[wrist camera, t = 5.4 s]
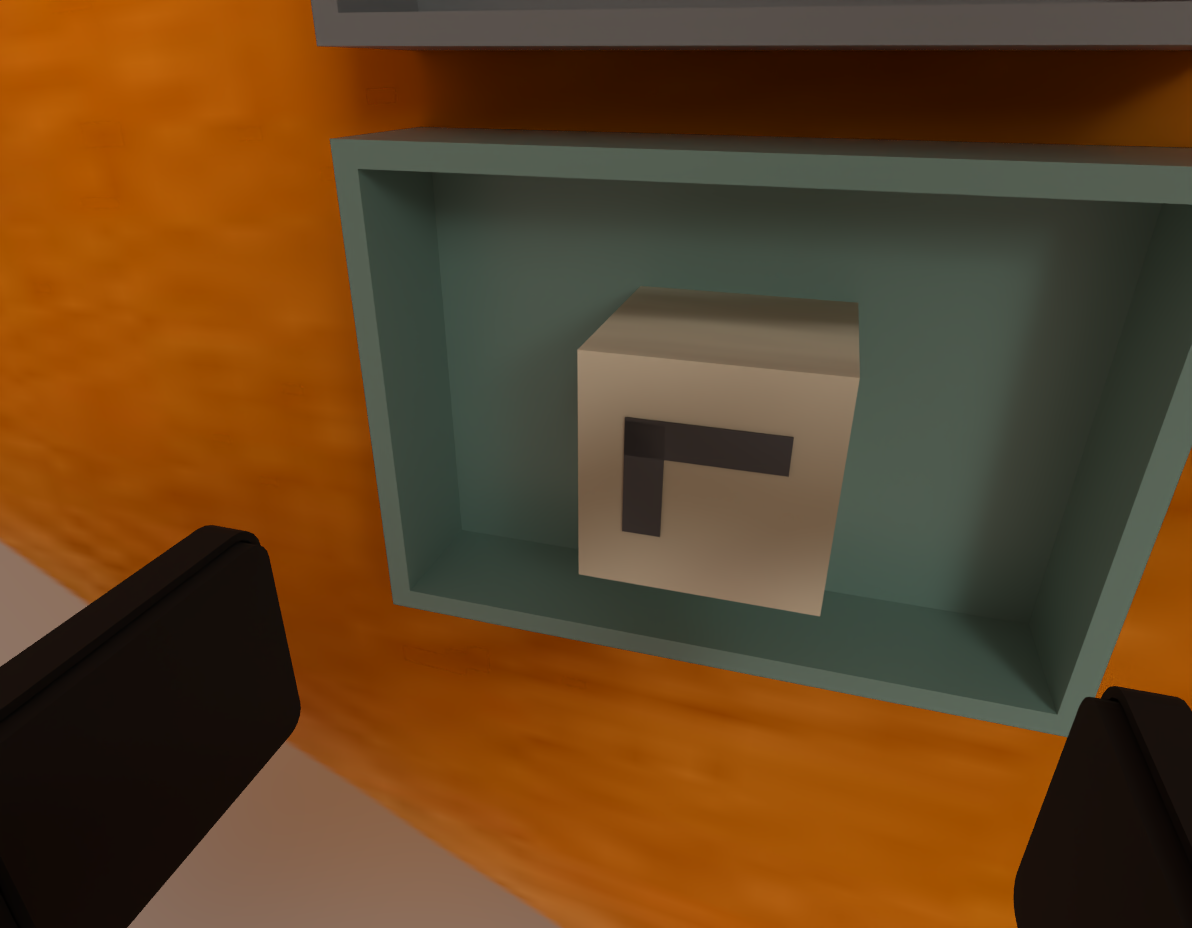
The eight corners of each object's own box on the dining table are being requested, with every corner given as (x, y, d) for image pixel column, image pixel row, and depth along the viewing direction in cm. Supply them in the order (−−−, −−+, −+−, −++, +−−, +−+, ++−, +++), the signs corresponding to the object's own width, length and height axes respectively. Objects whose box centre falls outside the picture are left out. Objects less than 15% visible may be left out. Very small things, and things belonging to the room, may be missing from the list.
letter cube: (638, 285, 17) (573, 350, 13) (858, 302, 16) (860, 378, 12) (632, 471, 19) (575, 575, 15) (827, 497, 18) (820, 618, 14)
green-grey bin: (420, 126, 17) (329, 138, 14) (1200, 147, 14) (1298, 170, 11) (455, 531, 22) (393, 604, 19) (1042, 630, 18) (1078, 739, 15)
